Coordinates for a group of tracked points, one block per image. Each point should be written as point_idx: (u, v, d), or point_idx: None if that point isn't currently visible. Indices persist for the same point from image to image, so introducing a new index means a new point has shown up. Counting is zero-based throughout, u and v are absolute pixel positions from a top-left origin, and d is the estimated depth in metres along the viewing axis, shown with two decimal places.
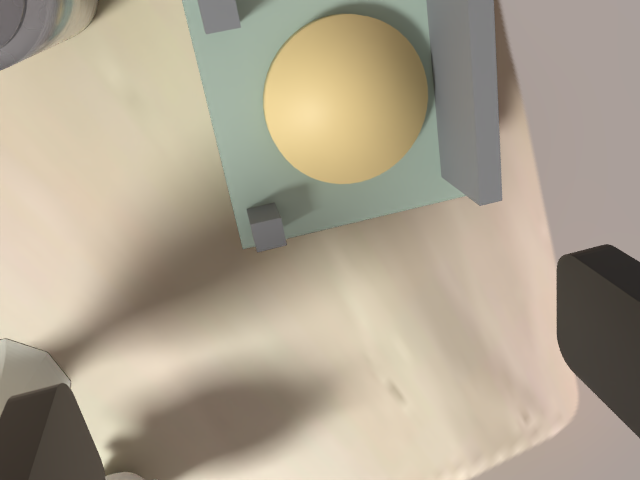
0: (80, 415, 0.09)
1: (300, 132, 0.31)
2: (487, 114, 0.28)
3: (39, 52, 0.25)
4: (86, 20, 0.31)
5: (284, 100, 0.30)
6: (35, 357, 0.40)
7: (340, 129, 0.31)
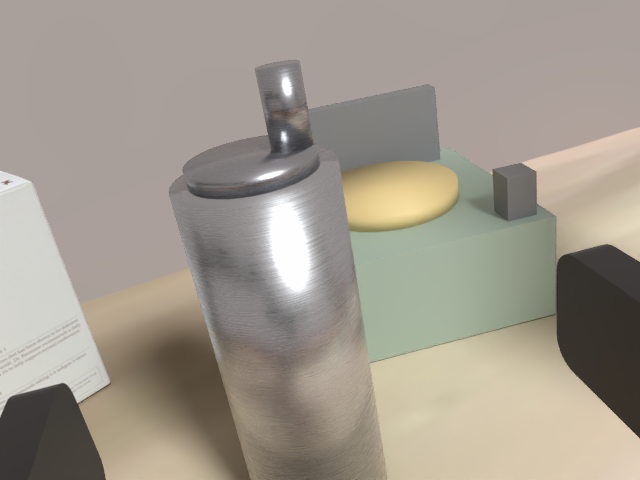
0: (80, 415, 0.09)
1: (414, 197, 0.34)
2: (366, 99, 0.40)
3: None
4: None
5: (387, 207, 0.33)
6: None
7: (407, 184, 0.36)
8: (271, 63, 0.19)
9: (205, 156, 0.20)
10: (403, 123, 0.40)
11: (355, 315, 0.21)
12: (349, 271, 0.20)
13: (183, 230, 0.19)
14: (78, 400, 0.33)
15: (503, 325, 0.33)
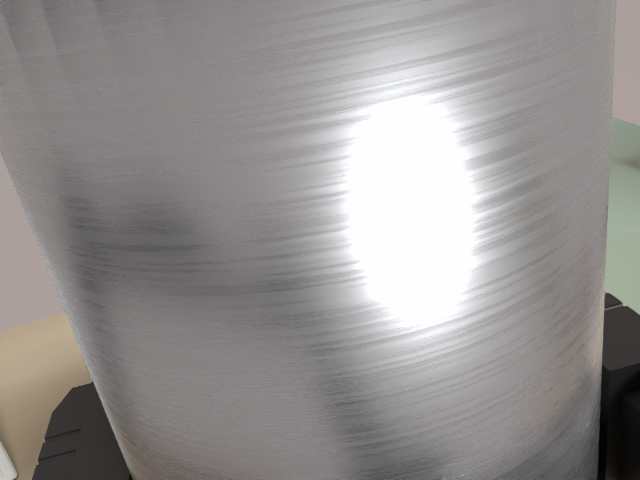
0: None
1: None
2: None
3: None
4: None
5: None
6: None
7: None
8: None
9: None
10: None
11: (598, 433, 0.07)
12: (603, 299, 0.06)
13: None
14: None
15: None
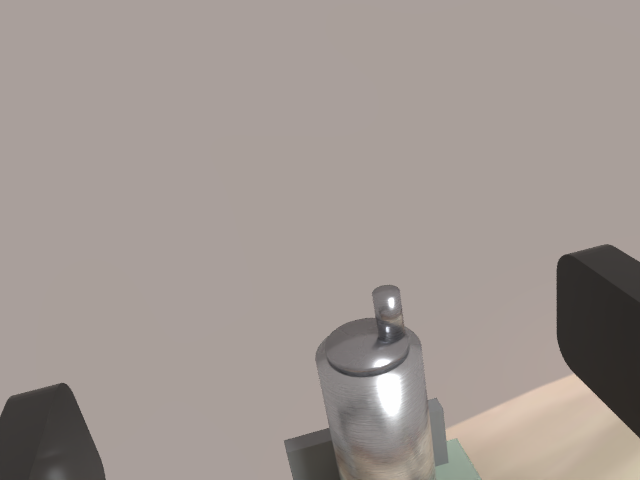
0: (80, 415, 0.09)
1: None
2: None
3: None
4: None
5: None
6: None
7: None
8: (380, 287, 0.31)
9: (335, 338, 0.32)
10: None
11: (429, 434, 0.33)
12: (426, 409, 0.32)
13: (328, 390, 0.31)
14: None
15: None
